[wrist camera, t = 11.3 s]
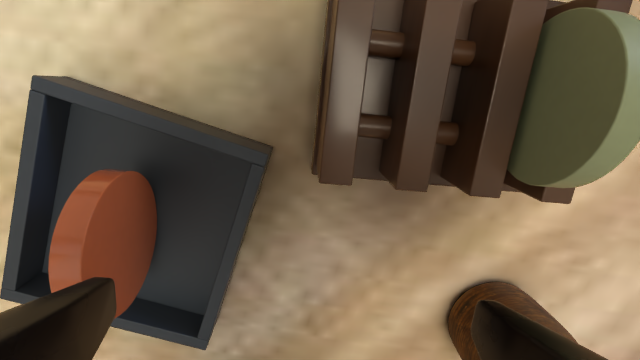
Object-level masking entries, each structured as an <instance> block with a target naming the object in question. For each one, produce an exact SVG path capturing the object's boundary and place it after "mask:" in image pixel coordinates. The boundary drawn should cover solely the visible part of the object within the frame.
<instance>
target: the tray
mask: <svg viewBox="0 0 640 360" xmlns="http://www.w3.org/2000/svg"><path fill="white" fill-rule="evenodd" d="M31 89H32V90H30V92H29V99H28V106H27V113H26V120H25V127H24V134H23V141H22V148H21V155H20V162H19V169H18V176H17V184H16V191H15V198H14V205H13V212H12V219H11V226H10V233H9V240H8V247H7V254H6V261H5V268H4V275H3V282H2V289H1V296H0V298H1V299H5V300H9V301H13V302H16V303H20V304H25V303H27V302H30V301H33V300H35V299H38V298H40V297H43V296H46V295H48V294H51V289H50V283H49V272H48V267H49V253H50V246H51V241H52V237H53V233H54V230H55V226H56V223H57V220H58V218H59V216H60V213H61V211H62V209H63V207H64V205H65V203H66V201H67V200H68V198H69V196H70V195H71V193H72V192H73V191H74V189H75V188H76V187H77V186H78V185H79V184H80V183H81V182H82V181H83V180H84V179H85V178H86V177H87V176H89V175H90V174H92V173H94V172H96V171H99V170H102V169H117V170H129V171H136V172H138V173H140V174H142V175H143V176H144V177H145V178H146V179H147V180H148V182H149V183H150V185H151V188H152V190H153V193H154V197H155V202H156V209H157V232H156V241H155V247H154V252H153V256H152V260H151V264H150V267H149V270H148V273H147V275H146V278H145V280H144V283H143V285H142V287H141V289H140V291H139V293H138V294H137V296H136V298H135V299H134V301H133V302H132V303H131V305H130V306H129V307H128V308H127V309H126V311H125V312H123V313H122V314H121V315H120V316H118V317H117V318H115V319H114V320H113V322H112V323H111V325H110V326H111V327H115V328H119V329H123V330H127V331H131V332H135V333H139V334H143V335H147V336H151V337H155V338H159V339H163V340H167V341H171V342H175V343H179V344H183V345H187V346H190V347H194V348H198V349H202V350H206V348H207V345H208V343H209V340H210V337H211V335H212V332H213V329H214V326H215V324H216V321H217V318H218V315H219V312H220V309H221V306H222V303H223V300H224V296H225V293H226V290H227V287H228V284H229V281H230V278H231V275H232V272H233V269H234V266H235V263H236V260H237V257H238V254H239V250H240V247H241V244H242V241H243V238H244V235H245V232H246V229H247V226H248V223H249V220H250V217H251V214H252V211H253V208H254V204H255V201H256V198H257V195H258V192H259V189H260V186H261V183H262V180H263V177H264V174H265V171H266V168H267V165H268V162H269V158H270V155H271V152H272V149H273V147H272V146H269V145H266V144H263V143H260V142H257V141H254V140H251V139H248V138H245V137H242V136H239V135H236V134H233V133H231V132H228V131H225V130H222V129H219V128H216V127H213V126H210V125H207V124H204V123H201V122H198V121H195V120H192V119H189V118H187V117H184V116H181V115H178V114H175V113H172V112H169V111H166V110H163V109H160V108H157V107H154V106H151V105H148V104H146V103H143V102H140V101H137V100H134V99H131V98H128V97H125V96H122V95H119V94H116V93H113V92H110V91H107V90H104V89H102V88H99V87H96V86H93V85H90V84H87V83H84V82H81V81H78V80H75V79H72V78H69V77H58V76H37V75H33V76H32V81H31Z"/></svg>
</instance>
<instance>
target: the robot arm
mask: <svg viewBox="0 0 640 360" xmlns="http://www.w3.org/2000/svg"><path fill="white" fill-rule="evenodd" d="M115 314H116V292H115V282H114V280H113V279H112V278H106V277H92V278H90V279H87V280H85V281H82V282H79V283H77V284H74V285H72V286H69V287H66V288H64V289H61V290H59V291H56V292H53V293H51V294H48V295H46V296H43V297H40V298H38V299H35V300H33V301H30V302H27V303H25V304H22V305H20V306H17V307H14V308H12V309H9V310H7V311H4V312H1V313H0V360H92V359H93V357H94V355H95V353H96V351H97V350H98V348H99V346H100V344H101V342H102V340H103V338H104V336H105V335H106V333H107V331H108V329H109V327H110V325H111V323H112V322H113V320H114V317H115ZM471 336H472V339H473V342H474V344H475V347H476V349H477V352H478V354H479V357H480V359H481V360H608V359H606V358H604V357H602V356H600V355H598V354H596V353H595V352H593V351H591V350H589V349H587V348H585V347H583V346H581V345H579V344H577V343H576V342H574V341H572V340H570V339H568V338H566V337H564V336H562V335H560V334H558V333H557V332H555V331H553V330H551V329H549V328H547V327H545V326H543V325H541V324H539V323H538V322H536V321H534V320H532V319H530V318H528V317H526V316H524V315H522V314H520V313H519V312H517V311H515V310H513V309H511V308H509V307H507V306H505V305H503V304H501V303H500V302H498V301H495V300H479V301H478V302H477V304H476V307H475V311H474V315H473V319H472V324H471Z"/></svg>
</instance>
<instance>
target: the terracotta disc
mask: <svg viewBox="0 0 640 360" xmlns="http://www.w3.org/2000/svg"><path fill="white" fill-rule="evenodd" d="M156 232H157V209H156V202H155V197H154V193H153V190H152V188H151V185H150V183H149V182H148V180H147V179H146V178H145V177H144V176H143V175H142V174H140V173H138V172H136V171H129V170H117V169H102V170H99V171H96V172H94V173H92V174H90V175H89V176H87V177H86V178H85V179H84V180H83V181H82V182H81V183H80V184H79V185H78V186H77V187H76V188H75V189H74V191H73V192H72V193H71V195H70V196H69V198H68V200H67V201H66V203H65V205H64V207H63V209H62V211H61V213H60V216H59V218H58V220H57V223H56V226H55V230H54V233H53V237H52V241H51V246H50V253H49V267H48V272H49V283H50V289H51V293H53V292H56V291H59V290H61V289H64V288H66V287H69V286H72V285H74V284H77V283H79V282H82V281H85V280H87V279H90V278H92V277H106V278H112V279H113V280H114V282H115V292H116V314H115V317H114V319H115V318H117V317H118V316H120V315H121V314H122V313H123V312H125V311H126V309H127V308H128V307H129V306H130V305H131V303H132V302H133V301H134V299H135V298H136V296H137V294H138V293H139V291H140V289H141V287H142V285H143V283H144V280H145V278H146V275H147V273H148V270H149V267H150V264H151V260H152V256H153V252H154V247H155V241H156Z"/></svg>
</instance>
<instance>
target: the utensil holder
mask: <svg viewBox="0 0 640 360" xmlns="http://www.w3.org/2000/svg"><path fill="white" fill-rule="evenodd" d="M479 300H495V301H498V302H500V303H501V304H503V305H505V306H507V307H509V308H511V309H513V310H515V311H517V312H519V313H520V314H522V315H524V316H526V317H528V318H530V319H532V320H534V321H536V322H538V323H539V324H541V325H543V326H545V327H547V328H549V329H551V330H553V331H555V332H557V333H558V334H560V335H562V336H564V337H566V338H568V339H570V340H572V341H574V342H576V340H575V339H574V338H573V337H572V335H571V334H570V333H569V332H568V331H567V330H566V329H565V328H564V327H563V326H562V325H561V324H560V323H559V322H558V321H557V320H556V319H555V318H553V317H552V316H551V315H550V314H549V313H548V312H547V311H546V310H545V309H544V308H543V307H542V306H540V305H539V304H538V303H537V302H536V301H535V300H534V299H533V298H531V297H530V296H529V295H528V294H526V293H525V292H524V291H522V290H521V289H519V288H517V287H515V286H513V285H510V284H507V283H502V282H490V283H484V284H481V285H478V286H475V287H473V288H471V289H470V290H468V291H467V292H465V293H464V294H463V295H462V296H461V297H460V298H459V299H458V300H457V301H456V303H455V304H454V306H453V308H452V310H451V312H450V316H449V322H448V326H449V333H450V336H451V339H452V341H453V344H454V346H455V347H456V349H457V351H458V353H459V355H460V357H461V358H462V360H481V359H480V357H479V354H478V352H477V349H476V347H475V344H474V342H473V339H472V336H471V324H472V319H473V315H474V311H475V307H476V304H477V302H478V301H479ZM576 343H577V342H576ZM577 344H578V343H577Z"/></svg>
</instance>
